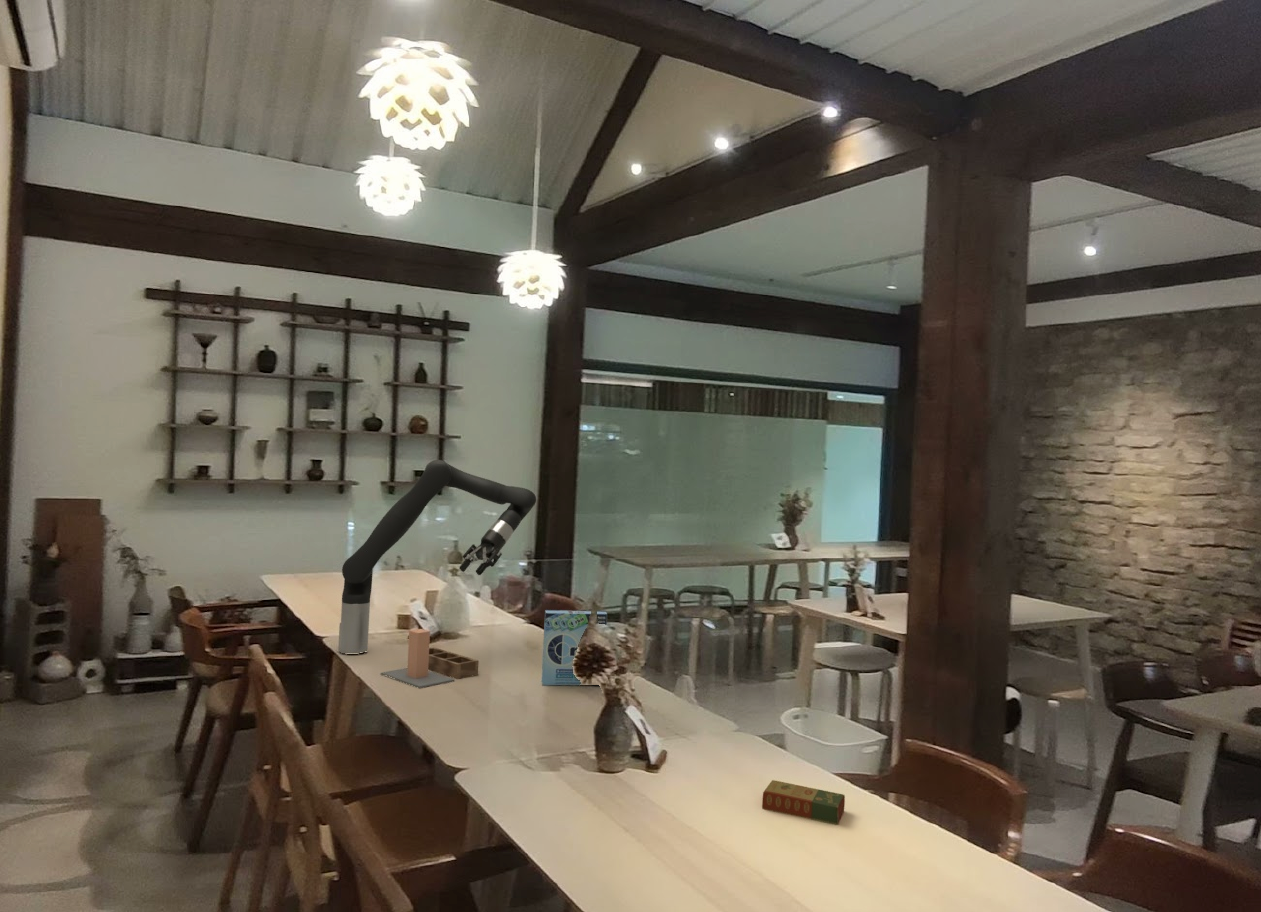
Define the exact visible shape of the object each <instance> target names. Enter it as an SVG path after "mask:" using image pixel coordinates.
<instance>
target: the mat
mask: <svg viewBox="0 0 1261 912" xmlns="http://www.w3.org/2000/svg"><path fill="white" fill-rule="evenodd" d="M381 674H382V675H381ZM380 675H381V676H383V675H387V676H390V677H392V678H395V679H397V680H399V681H398V682H400V681H402V682H401V683H403V682H404V683H403V684H406V683H407V684H406V685H409V684H410V685H409V686H411V685H413V686H412V687H414V686H415V688H417V687H418V688H417V689H423V687H424V688H428V687H427V686H429V687H433V686H432V685H434V686H438V685H437V684H439V685H442V684H441V683H444V684H448V683H453V682H455V679H456V678H453V677H450V676H446V675H443V674H440V673H437V672H434V671H431V670H428V676H426V677H421V678H413V677H410V676H407V667H404V668H400V669H393V670H389V671H387V670H386V671H383V672H380ZM392 678H391V679H392ZM397 680H396V681H397ZM452 681H453V682H452ZM447 682H448V683H447Z"/></svg>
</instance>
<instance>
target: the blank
mask: <svg viewBox="0 0 1261 912" xmlns="http://www.w3.org/2000/svg"><path fill="white" fill-rule="evenodd" d="M430 640H431V631H430V630H426V629H424V628H418V629H410V630H409V631H408V647H407V648H408V650H407V667H406V668H407V676H410V677H413V678H421V677H426V676H428V671H429V670H428V663H429V648H430V643H431V641H430Z"/></svg>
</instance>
